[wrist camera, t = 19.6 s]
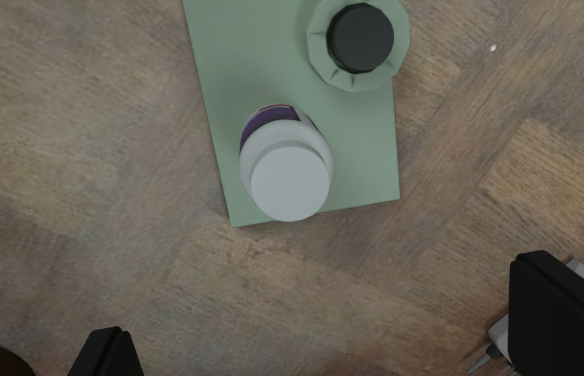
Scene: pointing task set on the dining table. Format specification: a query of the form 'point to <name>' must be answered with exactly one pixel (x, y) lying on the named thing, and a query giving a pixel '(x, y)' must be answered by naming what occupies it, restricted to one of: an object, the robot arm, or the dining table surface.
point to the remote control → (500, 332)
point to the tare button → (362, 38)
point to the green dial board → (298, 90)
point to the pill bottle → (285, 162)
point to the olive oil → (12, 365)
